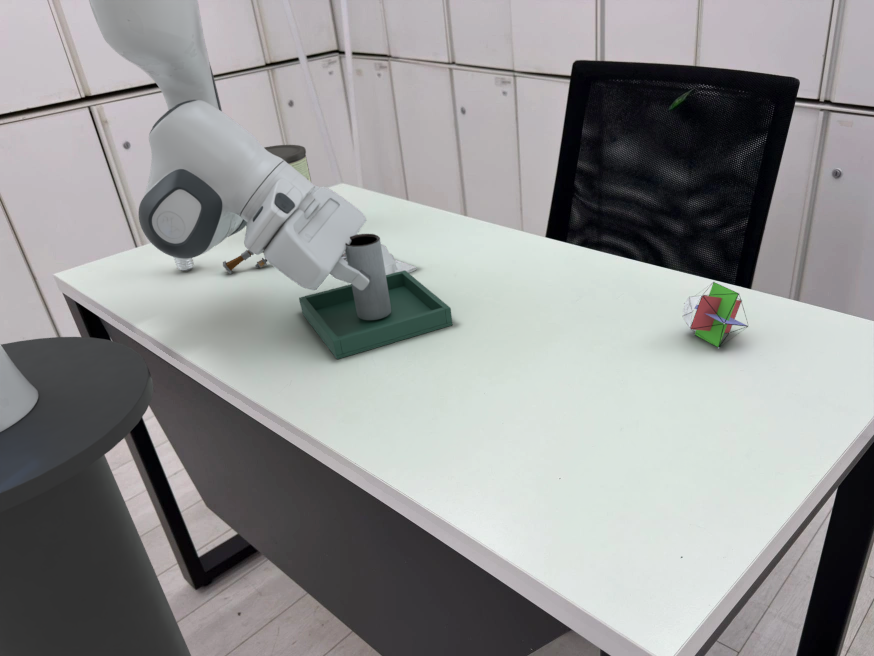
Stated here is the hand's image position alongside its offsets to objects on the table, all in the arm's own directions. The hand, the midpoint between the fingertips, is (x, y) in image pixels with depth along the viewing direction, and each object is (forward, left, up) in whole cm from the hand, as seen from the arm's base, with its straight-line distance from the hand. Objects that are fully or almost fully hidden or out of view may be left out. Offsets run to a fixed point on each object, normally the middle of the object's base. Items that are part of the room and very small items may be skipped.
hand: (372, 275), depth 96 cm
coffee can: (-1, +43, -6) cm, 44 cm away
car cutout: (+5, +19, -6) cm, 21 cm away
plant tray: (-1, 0, -6) cm, 6 cm away
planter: (-1, 0, -6) cm, 6 cm away
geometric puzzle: (+31, -30, -6) cm, 44 cm away
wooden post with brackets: (-11, +30, -6) cm, 33 cm away
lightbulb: (-20, +36, -6) cm, 42 cm away
